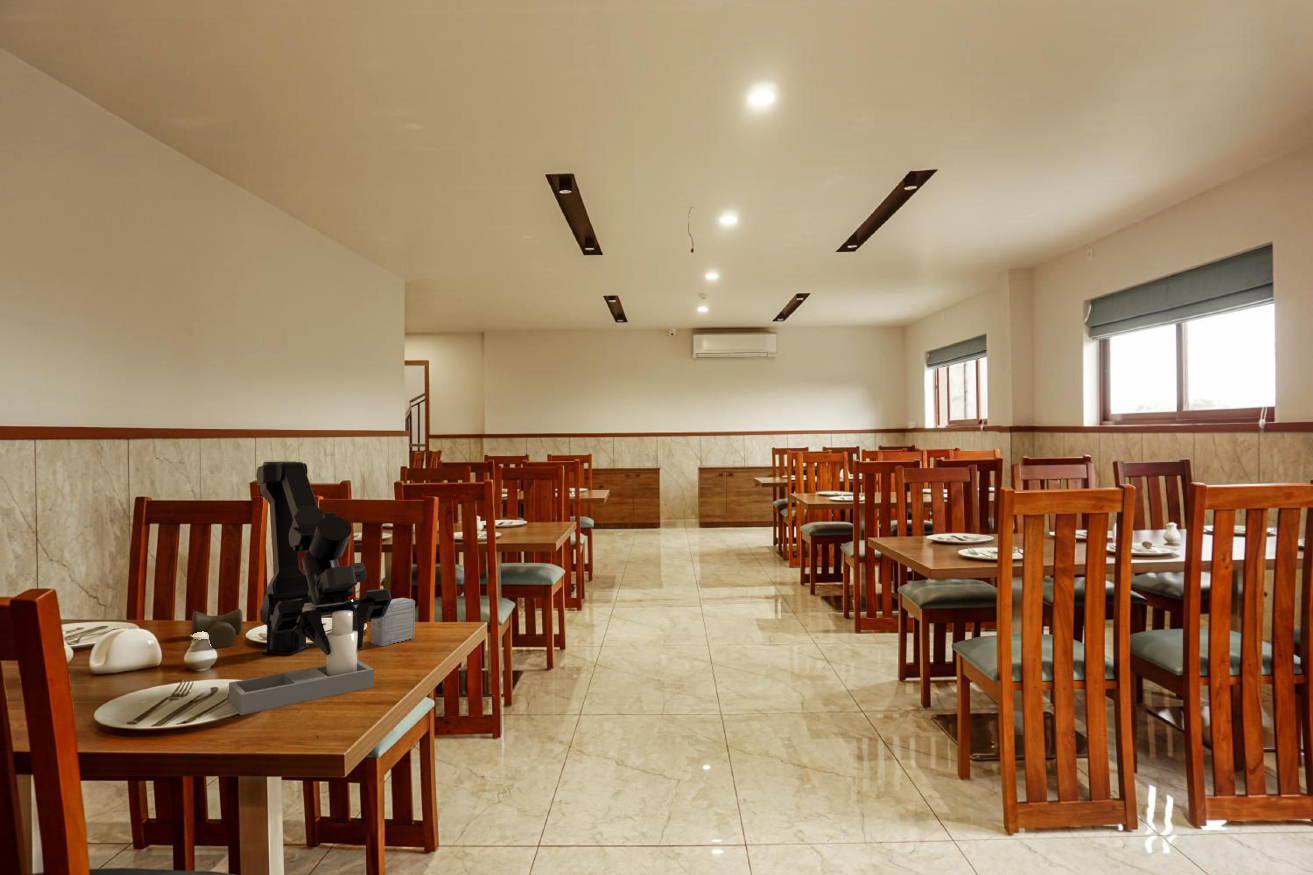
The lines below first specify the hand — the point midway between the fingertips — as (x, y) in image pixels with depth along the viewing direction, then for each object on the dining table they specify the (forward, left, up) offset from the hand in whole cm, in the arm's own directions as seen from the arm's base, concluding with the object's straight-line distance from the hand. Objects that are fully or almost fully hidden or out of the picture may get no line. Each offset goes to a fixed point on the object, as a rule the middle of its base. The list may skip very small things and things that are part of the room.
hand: (344, 650), depth 122 cm
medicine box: (-8, +33, -7) cm, 35 cm away
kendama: (-47, +31, -7) cm, 57 cm away
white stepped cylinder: (-1, +1, -6) cm, 6 cm away
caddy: (-5, -4, -7) cm, 9 cm away
